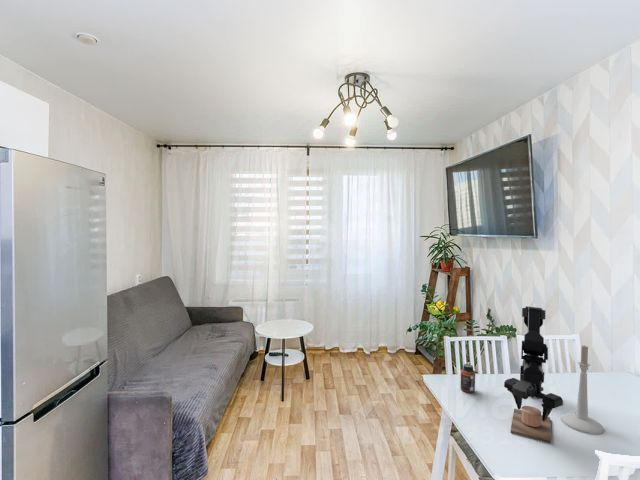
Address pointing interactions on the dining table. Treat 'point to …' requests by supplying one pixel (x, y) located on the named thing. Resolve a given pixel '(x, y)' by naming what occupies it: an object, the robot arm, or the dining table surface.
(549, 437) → the post board
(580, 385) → the candlestick
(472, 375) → the supplement bottle
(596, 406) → the dining table surface
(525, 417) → the cap
